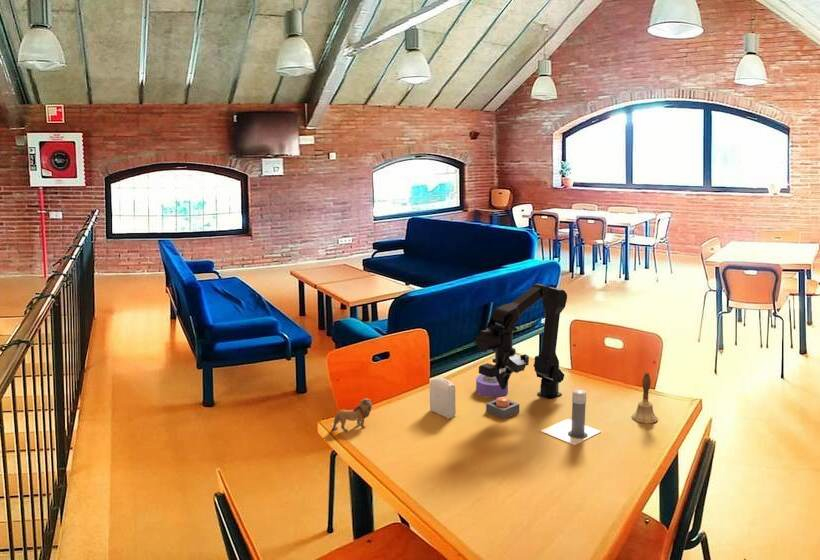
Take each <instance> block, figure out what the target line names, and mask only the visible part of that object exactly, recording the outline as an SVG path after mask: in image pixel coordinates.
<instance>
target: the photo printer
mask: <svg viewBox="0 0 820 560" xmlns="http://www.w3.org/2000/svg"><path fill="white" fill-rule="evenodd" d="M456 408H457V407H456V386H455V385H454V384H453V382H451V381H449V380H448V379H446V378H443V377H434V378H431V380H430V381H429V410H430V411H432V412H433V413H436V414H438V415H440V416H442V417H445V418H448V419H452V418H454V417H455V415H456V412H457V411H456Z"/></svg>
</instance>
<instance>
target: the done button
mask: <svg viewBox="0 0 820 560" xmlns="http://www.w3.org/2000/svg"><path fill="white" fill-rule="evenodd" d="M495 398H496V399H495V400H496V406H499V407H501V408H506V407H508V406H510V401H511V399H510V398H508V397H506V396H501V397H495Z"/></svg>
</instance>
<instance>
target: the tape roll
mask: <svg viewBox="0 0 820 560" xmlns="http://www.w3.org/2000/svg"><path fill="white" fill-rule="evenodd" d="M475 387H476V388H475V392H476V394H478V395H479V396H481V395H482V397H485V396H486V397H487V398H498V397H505V396H506V395H508V393H509V382H508V383H507V385H506V388H505V389H504V390H503V389H501V387H500V385H499V383H498V381H497V379H496V377H488V376H485V375H482V374H480V375H477V376H476V378H475Z"/></svg>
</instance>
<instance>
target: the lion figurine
mask: <svg viewBox="0 0 820 560" xmlns="http://www.w3.org/2000/svg"><path fill="white" fill-rule="evenodd" d="M372 407H373V403H372V400H371V399H370V398H363V399H361V400H360V403H359V404H358V405H357V406H356V407H355V408H354V409H341V410H339V411H338V412H336V414H335V416H334V418H333V426H332V427H331V428H332V429H331V430H330V432H334V430H338V428H339V427H338V426H337V425H338V424H339V423H340V428H341V429H342V431H343V432H345V433H347V432H349V431H348V429H347V428H345V425H346V422H347V421H349V422H352V421H353V422H355V421H356V425H357V426H358V427H361V429H363V428H364V429H366V426H365V419H367V418H369V416H370V413H371V411H372Z"/></svg>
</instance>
